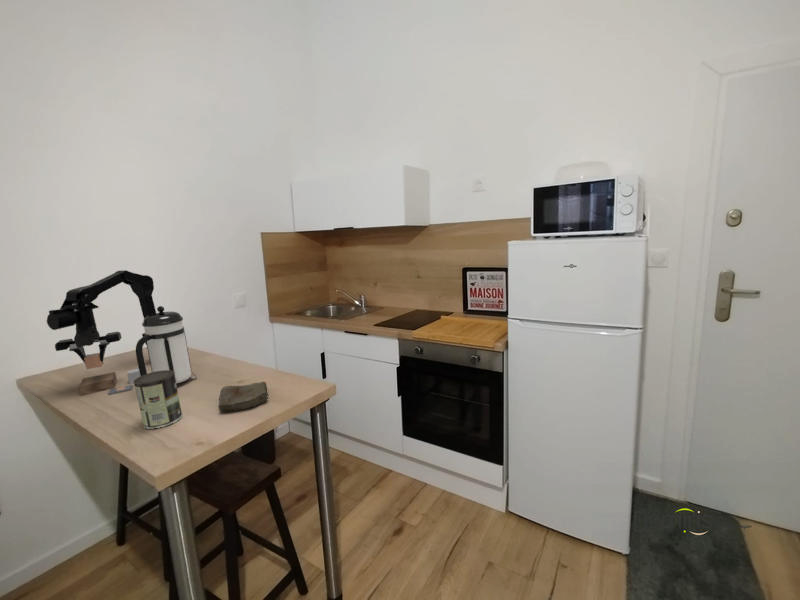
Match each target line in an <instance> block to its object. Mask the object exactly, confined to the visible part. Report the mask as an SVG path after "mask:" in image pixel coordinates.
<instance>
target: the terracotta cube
mask: <svg viewBox="0 0 800 600" xmlns="http://www.w3.org/2000/svg"><path fill="white" fill-rule="evenodd" d="M84 360H85V363H84V365H85V368H86V370H90V369H96V368H101V367H102V366H103V365H104V361H103V362H101V359H100V352H95V353H90V354H86V356H85V357H84Z"/></svg>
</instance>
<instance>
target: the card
mask: <svg viewBox="0 0 800 600" xmlns="http://www.w3.org/2000/svg"><path fill="white" fill-rule="evenodd" d="M133 387H134V384H129V385H124V386H120V387H115V388H113V389H109V391H108V393H107V395H108V396H110V395H114V394H120V393H124V392H129V391H132V389H133Z"/></svg>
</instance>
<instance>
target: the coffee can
mask: <svg viewBox="0 0 800 600" xmlns="http://www.w3.org/2000/svg"><path fill="white" fill-rule="evenodd" d="M133 386H134V388H135V393H136V398H137V401H138V407H139V412H140V417H141V421H142V426H143V428H144V429H146V428H147V429H146V430H155V429H154V428H158V429H161V428H160V427H162V428H164V427H165V426H166V427H168V426H167V425H169V426H170V424H171V425H173V424H175V423H177V422H178V420H179V421H180V420H181V419H182V418H183V413H182V409H181V407H182V406H181V403H180V402H181V401H180V397H179V391H178V385H176V380H175V372H174V371H171V370H164V371H157V372H153V373H152V372H149V373H147V374H145V375H143V376H140V377H138V378H136V379H135V380H134V383H133ZM172 423H173V424H172ZM166 427H165V428H166Z"/></svg>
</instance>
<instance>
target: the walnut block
mask: <svg viewBox="0 0 800 600" xmlns="http://www.w3.org/2000/svg"><path fill="white" fill-rule="evenodd" d="M117 382H118V379H117V374H116V371H113V372H108V373H103V374H98V375H93V376H88V377H83V378H82V380H81V381H80V384H79V386H78V387H79V392H80V395H81V396H86V395H92V394H96V393H100V392H104V391H108V390H109V391H110V389H114V388H116V387H117Z"/></svg>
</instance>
